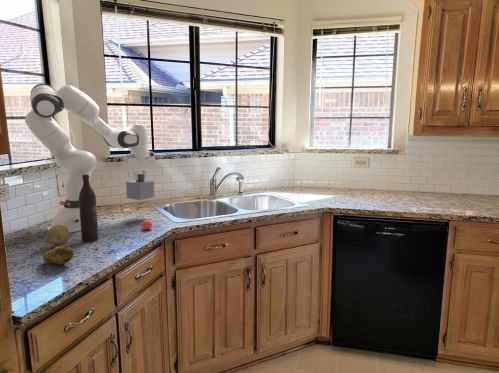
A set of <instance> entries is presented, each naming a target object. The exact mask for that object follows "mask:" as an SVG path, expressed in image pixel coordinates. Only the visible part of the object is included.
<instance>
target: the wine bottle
mask: <svg viewBox="0 0 499 373" xmlns="http://www.w3.org/2000/svg"><path fill="white" fill-rule="evenodd" d="M82 178H83V186H82V189H81V191H80V193H79V209H80V223H81V230H80V234H81V241H82V242H84V243H85V242H86V243H89V242H90V243H91V242H95V241H97V240H98V239H99V226H98V210H97V198H96V193H95V191H94V190H93V188H92V186H91V185H90V184H91V182H90V183H89V174H84V175H83V176H82Z"/></svg>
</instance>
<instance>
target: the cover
mask: <svg viewBox="0 0 499 373" xmlns="http://www.w3.org/2000/svg"><path fill="white" fill-rule="evenodd" d="M137 176H138V177H139V180H135V179H134V180H129V181H125V186H126V188H125V190H126V191H125V192H126V198H127V199H131V200H139V201H142V200H147V199H153V198H155V181H152V180H148V179H147V180H146V179H144V174H143V173H137Z"/></svg>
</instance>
